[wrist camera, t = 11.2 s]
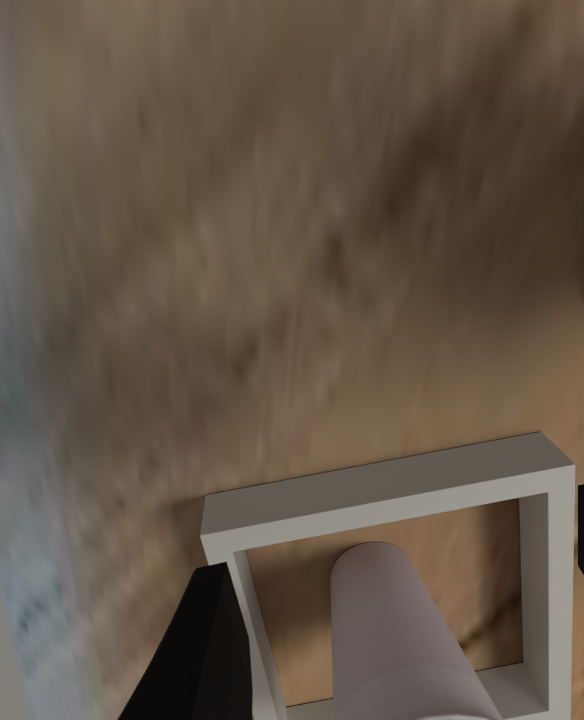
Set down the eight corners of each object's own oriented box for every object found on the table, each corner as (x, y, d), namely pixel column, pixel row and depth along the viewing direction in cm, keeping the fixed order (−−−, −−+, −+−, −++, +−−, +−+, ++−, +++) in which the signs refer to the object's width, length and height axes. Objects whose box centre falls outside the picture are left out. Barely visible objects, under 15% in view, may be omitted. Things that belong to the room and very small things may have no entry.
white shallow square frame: (541, 431, 22) (575, 464, 20) (543, 673, 27) (570, 721, 25) (205, 495, 22) (200, 535, 20) (269, 725, 27) (271, 778, 25)
